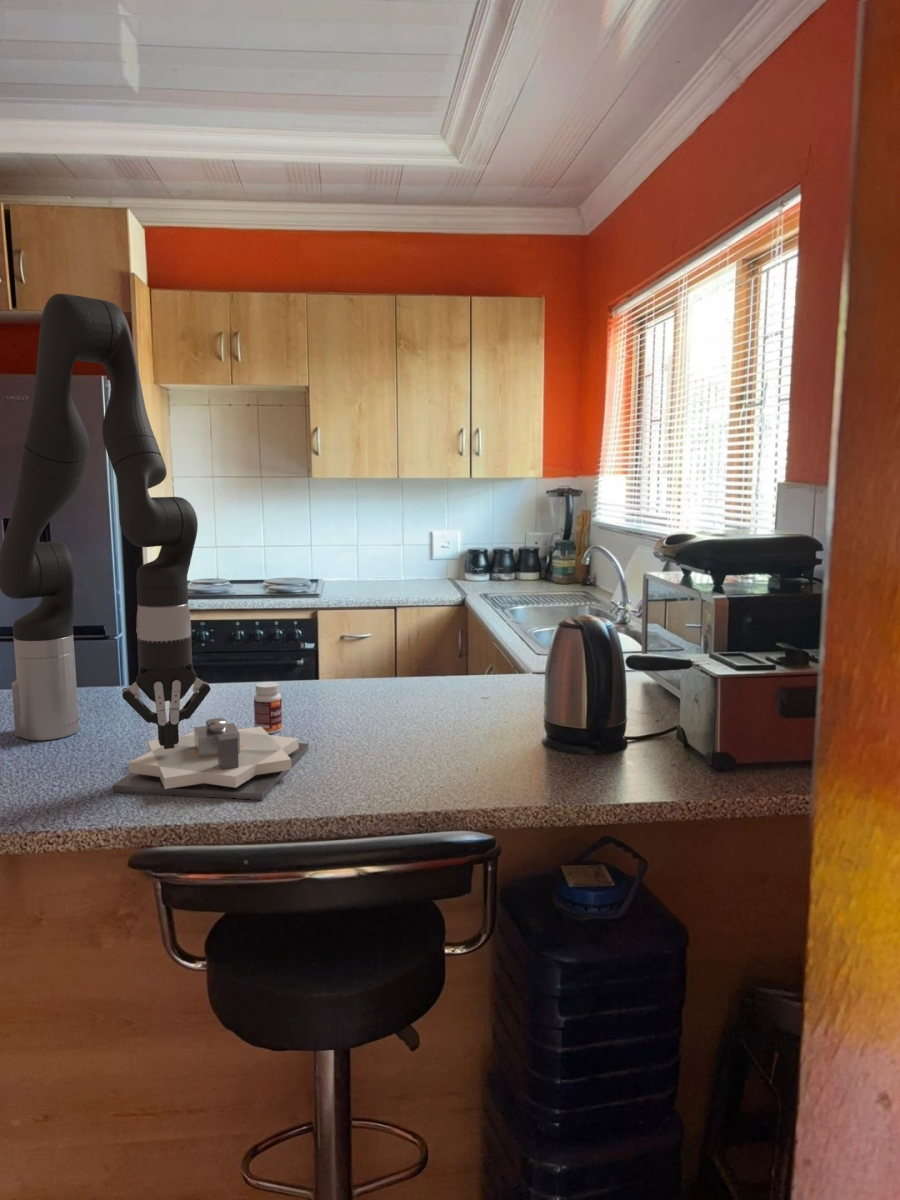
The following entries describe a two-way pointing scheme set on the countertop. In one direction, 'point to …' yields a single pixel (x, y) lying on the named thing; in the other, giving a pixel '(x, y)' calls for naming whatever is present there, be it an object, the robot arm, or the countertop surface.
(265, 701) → the pill bottle
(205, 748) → the cover
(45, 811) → the countertop surface
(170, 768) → the turntable
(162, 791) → the base
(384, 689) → the countertop surface
